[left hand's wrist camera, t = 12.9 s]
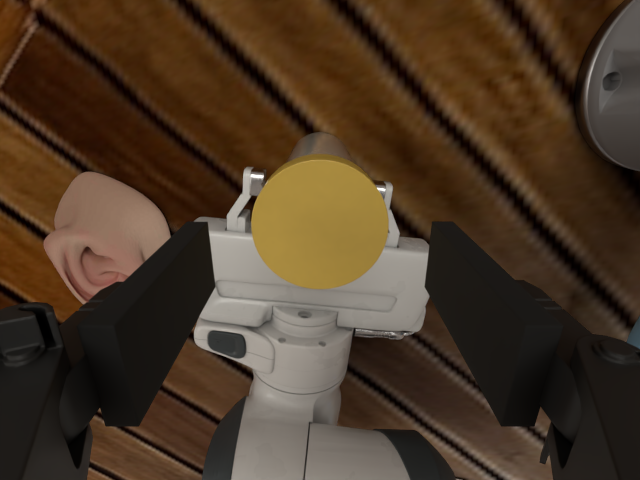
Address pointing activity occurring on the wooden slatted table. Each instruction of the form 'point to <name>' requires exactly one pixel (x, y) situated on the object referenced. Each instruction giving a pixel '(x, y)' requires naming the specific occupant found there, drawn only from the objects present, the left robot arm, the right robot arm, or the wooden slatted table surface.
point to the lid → (320, 222)
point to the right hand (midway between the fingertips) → (319, 175)
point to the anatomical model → (103, 233)
